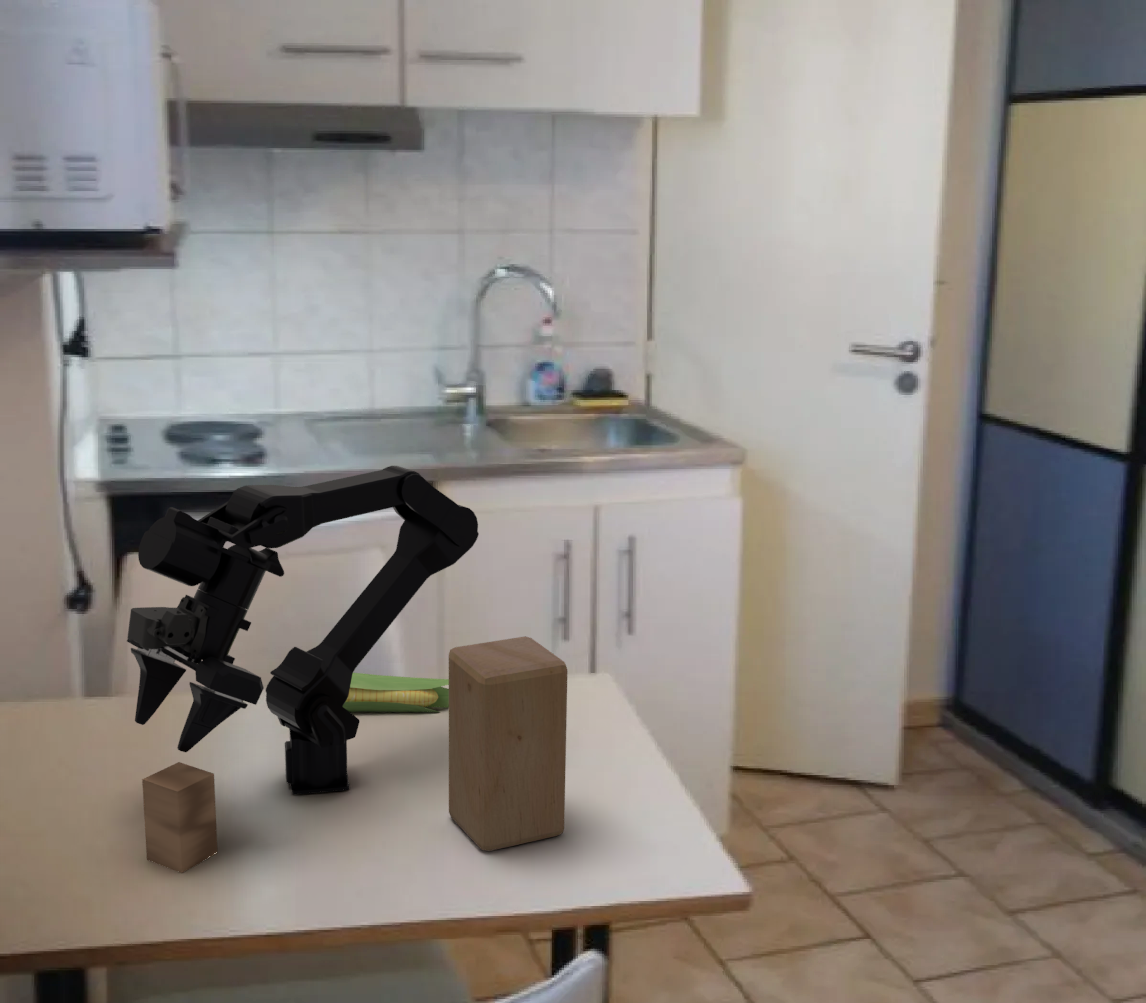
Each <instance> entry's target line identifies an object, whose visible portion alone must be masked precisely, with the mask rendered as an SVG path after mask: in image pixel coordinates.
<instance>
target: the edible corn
mask: <svg viewBox="0 0 1146 1003" xmlns="http://www.w3.org/2000/svg"><path fill="white" fill-rule="evenodd" d="M445 686H449V678H432V677H431V678H426V677H411V676H410V677H409V676H396V675H395V676H394V675H383V674H381V675H380V674H374V673H373V674H370V673H364V672H363V673H362V672H353V674H352V679H351V684H350V690H349V695H348V698H347V700H346V701H345V703H344V705H343V706H342V707H344V708H345V709H346V710H347V711H349V712H350V713H372V712H373V713H374V712H375V713H376V712H377V713H436V714H437V713H438V714H439V713H441V712H440V711H439V710H436V709H434V708H449V688H447V687H445ZM432 708H433V709H432Z"/></svg>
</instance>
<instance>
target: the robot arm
mask: <svg viewBox="0 0 1146 1003" xmlns="http://www.w3.org/2000/svg"><path fill="white" fill-rule="evenodd" d="M391 508H392V509H393V511H394V512H395V513H396V514H397V515H398V516H399V517H400V518H401V519H402V520H404V521H403V522H402V524H401V525H400V528H399V531H398V535H397V536H398V537H397V542H396V548H395V551H394V553H393V554H392V555H391V556H390V558H389V559H388V560H387V561H386V562H385V564H384V565H382V568H381V569H380V570H379V571H378V572H377V574H376V575H375V576H374V577H373V578H372V580H371V581H370V582H369V583H368V584H367V586H366V587H365V588H364V590H363V591H362V592H361V593H360V594H359V595H358V596H357V598H356V599H355V601H354V602H353V603H352V604H351V605H350V606H349V608H348V609H347V610H346V611H345V612H344V614H343V615H342V616H341V618H340V619H339V620H338V621H337V622H336V624H335V625H334V626H333V627H332V628H331V630H330V631H329V632H328V634H327V635H326V636H325V637H324V638H323V640H322V641H321V642H320V643H319V644H318V645H317V646H315V647H313V648H311V649H308V650H307V651H306V650H303V649H301V648H299V647H298V646H294V647H292V648H291V649H290V650H289V651H288V652H287V654H286V656H285V657H284V659H283V660H282V662H281V663H280V664H279V665H278V666H277V667H276V668H274V669H272V670H271V671H270V675H272V677H271V678H270V680H269V681H268V683H267V685H266V688H265V693H266V695H265V697H266V698H265V702H266V706H267V708H268V710H269V711H270V712H271V714H273V715H274V716H275V717H277V719H278V721H279V724H280V726H283V727H286V728H287V729H289V730H288V732H289V740H286V741H285V742H284V763H285V764H284V765H285V766H284V768H285V770H284V771H285V779H286V781H285V782H286V783H287V784H288V785H289V784H290V790H291V794H292V795H304V794H314V793H315V794H316V793H327V792H341V791H348V790H349V789H350V788H351V786H350V779H349V776H348V750H347V749H348V748H347V747H348V744H347V741H349V740H351V739H354V738H356V735H357V732H358V729H359V726H360V719H359V718H358V717H356V716H355V715H354V714H353V713H352V712H349V711H347V710H346V709H345V708H344V707H342V706H343V705H344V703H345V701H346V700H347V698H348V695H349V690H350V684H351V679H352V674H353V673H355V670H356V668H357V667H358V666H359V665H360V663H361V662H362V661H363V660H364V658H366V656H367V654H368V653H369V652H370V651H371V650H372V648H373V647H374V646H375V645H376V643H377V642H379V640H380V638H381V637H382V636H383V634H384V633H385V632H386V631H387V630H388V629H389V627H390V626H391V625H392V623H393V622H394V621H395V620H396V618H398V616H399V615H400V613H401V612H402V611H403V610H404V608H405V607H406V606H407V605H408V603H409V602H410V601H411V599H412V598H413V597H414V596H415V595H416V594H417V593H418V591H419V590H420V588H422V586H423V585H424V584H425V582H426V581H427V580H428V578H430V577H431V576H432V575H433V576H434V574H437V573H439V572H441V571H444V570H445V569H447V568H449V567H451V566H453V565H455V564H456V563H457V562H458V561H459V560H460V559H462V557H464V555H466V553H468V552H469V551H470V550H471V549H472V548H473V546H474V545H475V543H476V541H477V540H478V538H479V531H478V529H479V523H478V517H477V516H476V514H475V512H474V511H473V510H472V509H471V508H470V507H466V506H463V505H460V504H458V503H456V502H455V501H454V500H453V499H451V498H450V497H448V496H447V495H446V494H445V493H443V492H441V491H440V490H438V489H437V488H436V487H434V486H433V485H431V483H430V482H428V481H427V480H426V478H424V477H423V476H422V475H421V474H420V473H419V472H417V471H415V470H411V469H409V468H405V467H402V466H399V465H390V466H387V467H385V468H382V469H381V470H379V469H378V470H375V471H369V472H366V473H361V474H356V475H352V476H347V477H341V478H339V479H333V480H329V481H323V482H319V483H314V484H309V485H305V486H291V485H290V486H288V485H280V484H279V485H277V484H248V485H247V484H246V485H243V486H240V487H238V488H236V489H235V490H234V491H233V492H232V495H231V496H230V498H229V499H228V500H227V501H226V502H225V503H223V504H221V505H219V507H217V508H215V509H213V510H212V511H210V512H208V513H207V514H205V515H204V516H203V517H201V518H200V519H198V520H197V519H195V518H194V517H192V516H191V515H190V514H189V513H187V512H184V511H182V510H179V509H177V508H175V507H172V506H171V507H169V508H168V509H167V511H166V514H165V515H164V516H163V517H160V518H159V519H158V520H155V521H154V523H152V525H151V526H150V527H149V529H148V530H146V531H144V534H143V535H142V538H141V540H140V543H139V546H138V553H137V554H138V562H139V565H140V566H141V568H143V569H145V570H148V571H149V572H153V573H155V574H158V575H160V576H163V577H166V578H168V579H170V580H173V581H176V582H178V583H180V584H183V585H186V586H188V587H196V586H198V587H197V590H196V591H195V594H194V595H193V596H190V595H188V594H185V596H183V597H181V599H180V601H179V604H178V605H177V606H176V607H169V606H167V607H166V606H152V607H150V606H149V607H132V608H130V614H129V622H128V630H127V631H128V632H127V636H126V637H127V638H126V642H127V643H129V644H131V645H132V646H134V647H136V648H133V647H130V652H131V654H132V655H133V656H134V657H135V660H136V662H137V664H138V667H139V669H140V671H139V684H138V693H137V701H136V707H135V709H136V710H135V716H134V721H135V723H136V724H140V725H142V726H143V725H146V724H147V722H148V721H149V720H150V719H151V717H153V715H154V714H155V713H156V712H157V710H158V709H159V708H160V706H161V705H162V704H163V702H164V701H165V700H166V698H167V697H168V696H169V695H170V693H171V692H172V690H173V689H174V688H175V687H176V685H177V684H178V683H179V681H180V680H181V678H183V676H184V674H185V673H186V672H187V668H185V667H183V666H181V665H179V664H177V663H176V662H179V663H180V664H182V665H184V666H186V667H188V668H190V669H191V670H193V671H195V673H194V674H195V681H196V682H197V684H196V683H195V682H191V681H189V687H190V691H191V695H192V700H193V702H192V704H191V707H190V710H189V712H188V715H187V718H186V720H185V723H184V726H183V728H182V732H181V734H180V737H179V739H178V740H179V741H178V744H177V750H178V751H179V752H183V753H187V752H189V751H190V750H191V749H192V748H194V747H195V746H196V745H197V744H199V743H200V742H201V741H202V740H203V739H204V738H205V737H206V736H207V735H208V734H209V733H211V732H212V731H213V730H214V729H215V728H217V727H218V726H219V725H221V723H223V722H224V721H226V720H227V719H228V718H230V717H231V716H233V715H234V713H236V712H237V711H239V710H240V709H244V710H245V709H246V708H247V707H248V706H249V704H248V703H250V704H252V705H255V706H256V705H258V701H259V699H260V698H261V695H262V692H263V691H264V684H263V681H262V677H261V676H259V675H257V674H255V673H253V672H252V671H249V670H248V669H246V668H244V667H242V666H238V665H235V664H234V662H235V660H236V658H235V657H233V656H231V655H230V654H229V653H230V651H231V649H232V646H233V644H234V643H235V639H236V637H237V635H238V633H239V631H240V630H243V631H245V632H248V631H249V629H250V627H251V625H252V622H251V621H249V620H247V619H246V615H247V613H248V612H249V610H250V606H251V604H252V602H253V600H254V598H255V595H256V593H257V591H258V589H259V587H260V585H261V583H262V580H263V579H264V576H265V574H266V572H267V573H271V574H273V575H275V576H277V577H280V578H282V577H284V576H285V570H284V568H283V566H282V564H281V561H280V560H279V552H277V551H276V550H274V549H278V548H281V547H283V546H285V545H289V544H290V543H292V542H294V541H297V540H299V539H302V538H303V537H305V536H306V535H307V534H308V533H309V532H310V531H311V530H312V529H314V528H317V527H319V526H320V525H323V524H326V523H331V522H335V521H340V520H344V519H348V518H352V517H356V516H362V515H364V514H370V513H374V512H378V511H383V510H386V509H391ZM227 542H228V543H230V544H232V545H231V546H229V547H228V548H226V547H225V544H226V543H227ZM259 546H261V547H263V549H261V550H256V549H254V548H255V547H259ZM198 683H199V684H198ZM246 702H247V703H246Z"/></svg>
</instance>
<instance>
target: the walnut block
mask: <svg viewBox="0 0 1146 1003" xmlns="http://www.w3.org/2000/svg"><path fill="white" fill-rule="evenodd" d="M141 780H142V784H141V785H142V799H143V800H142V801H143V813H144V814H143V816H144V829H145V830H144V832H145V849H146V850H145V851H146V861H149V860H150V861H149V862H151V861H153V862H152V863H154V862H155V864H156V863H157V865H159V864H160V865H159V866H162V865H163V866H162V867H164V866H165V868H167V867H168V868H167V869H169V868H170V869H169V870H172V871H175V872H177V871H179V872H178V873H179V874H183V873H185V872H186V871H189V870H191V869H192V868H194V867H196V866H197V864H198V865H199V864H201V863H203V862H204V861H203V860H205V859H206V860H208V859H209V858H208V857H209V856H212V855H213V854H214V853H216V852H218V834H217V815H216V814H217V813H216V812H217V810H216V808H217V807H216V789H215V786H216V785H215V773H213V772H210V771H208V770H204V769H202V768H199V767H195V766H193V765H189V764H187V763H183V762H181V761H178V762H176V763H174V764H172V765H170V766H168V767H166V768H163V769H161V770H159V771H156V772H155V773H153V774H150V775H149V776H146V777H144V778H142V779H141ZM212 857H213V856H212ZM207 858H208V859H207ZM206 860H205V861H206ZM202 861H203V862H202ZM200 862H201V863H200ZM184 871H185V872H184Z"/></svg>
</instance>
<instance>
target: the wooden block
mask: <svg viewBox="0 0 1146 1003" xmlns="http://www.w3.org/2000/svg"><path fill="white" fill-rule="evenodd" d="M448 679H449V685H448V689H449V707H448V814H449V816H450V818H451V819H452V820H453V821H454V822H455V823H456V824H457V825H458V826H459V827H460V829H462V830H463V831H464V833H466V835H467V836H468V837H469V838H470V840H472V841H473V842H474V843H475V844H476V846H477V847H478V848H479V849H480V850H482V851H487V852H491V851H496V850H501V849H504V848H508V847H513V846H518V845H522V844H527V843H531V842H535V841H540V840H544V839H549V838H553V837H557V836H559V835H561V834H563V832H564V829H565V814H566V811H565V809H566V807H565V806H566V795H565V794H566V768H567V767H566V764H567V763H566V760H567V757H566V756H567V753H566V752H567V716H568V715H567V714H568V713H567V712H568V707H567V706H568V702H567V701H568V668H567V665H566V662H565V661H564V660H562V659H561V658H560V657H558V656H557V655H555V654H554V653H552V652H551V651H550V650H549V649H547V648H546V647H544V646H543V645H541V644H540V643H539V642H537V641H536V640H535V639H533V638H532V637H528V636H519V637H513V638H506V639H499V640H494V641H487V642H480V643H474V644H468V645H461V646H456V647H453V648H451V649H449V652H448Z"/></svg>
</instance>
